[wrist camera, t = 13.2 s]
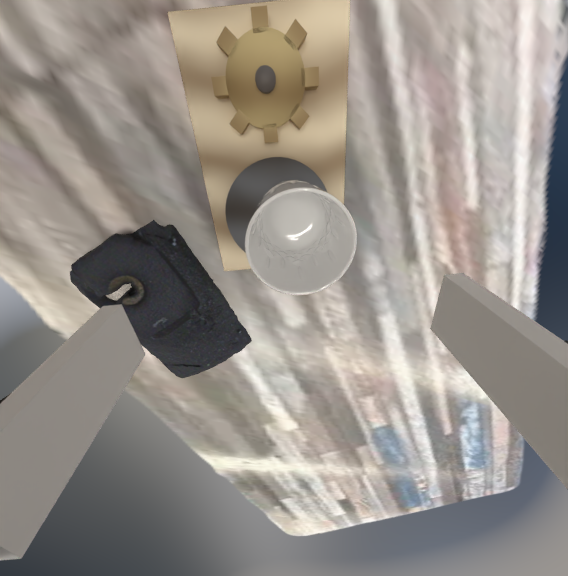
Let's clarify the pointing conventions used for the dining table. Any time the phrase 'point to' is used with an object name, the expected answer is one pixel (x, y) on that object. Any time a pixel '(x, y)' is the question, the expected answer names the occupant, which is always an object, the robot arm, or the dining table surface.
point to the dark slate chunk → (163, 298)
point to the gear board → (220, 114)
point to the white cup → (300, 238)
